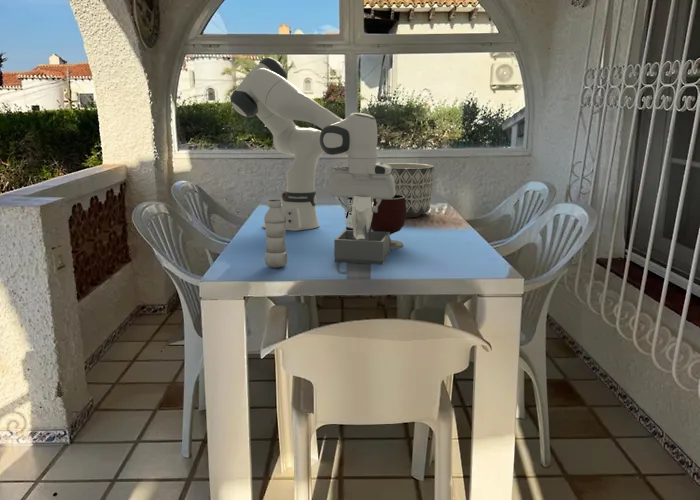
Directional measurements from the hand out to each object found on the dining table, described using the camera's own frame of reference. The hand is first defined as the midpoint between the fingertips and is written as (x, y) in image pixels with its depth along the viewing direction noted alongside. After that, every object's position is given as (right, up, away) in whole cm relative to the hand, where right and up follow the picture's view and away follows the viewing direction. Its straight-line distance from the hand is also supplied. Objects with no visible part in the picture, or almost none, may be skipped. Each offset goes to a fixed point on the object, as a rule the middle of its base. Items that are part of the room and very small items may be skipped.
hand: (362, 211), depth 181 cm
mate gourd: (+8, -10, +21) cm, 25 cm away
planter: (+20, +4, +80) cm, 83 cm away
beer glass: (0, -10, +2) cm, 10 cm away
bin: (0, -14, +3) cm, 15 cm away
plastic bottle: (-26, -17, -8) cm, 32 cm away
